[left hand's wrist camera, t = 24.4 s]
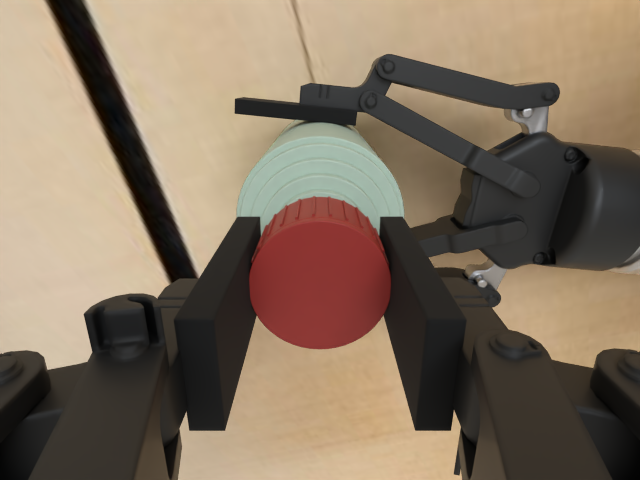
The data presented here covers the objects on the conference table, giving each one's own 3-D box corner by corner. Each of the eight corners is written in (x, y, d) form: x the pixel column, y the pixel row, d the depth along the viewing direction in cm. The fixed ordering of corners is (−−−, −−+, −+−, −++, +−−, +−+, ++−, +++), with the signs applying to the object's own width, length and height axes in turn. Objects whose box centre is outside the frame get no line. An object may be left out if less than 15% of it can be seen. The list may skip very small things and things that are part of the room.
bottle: (321, 91, 29) (323, 101, 11) (388, 164, 31) (486, 278, 13) (252, 162, 31) (153, 275, 13) (319, 227, 33) (318, 408, 14)
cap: (264, 186, 13) (252, 208, 11) (392, 203, 14) (408, 230, 11) (253, 299, 15) (240, 341, 12) (369, 314, 15) (378, 358, 13)
